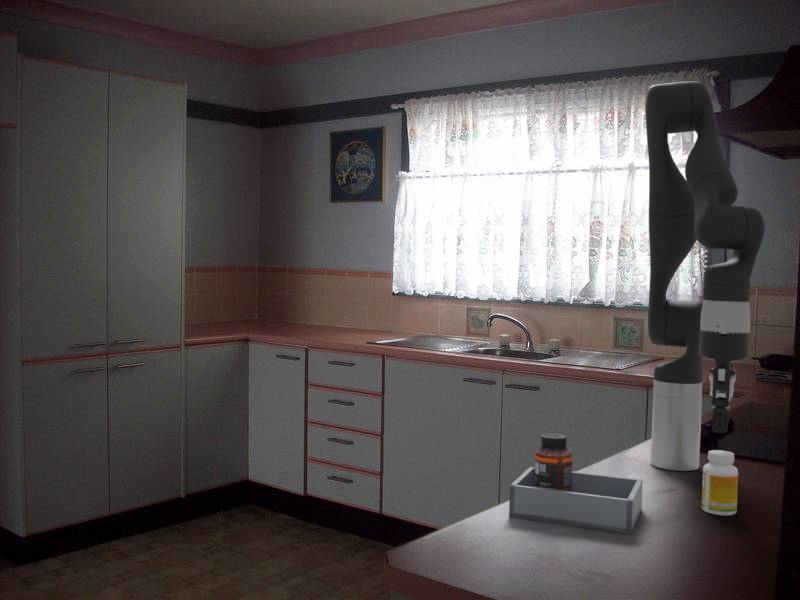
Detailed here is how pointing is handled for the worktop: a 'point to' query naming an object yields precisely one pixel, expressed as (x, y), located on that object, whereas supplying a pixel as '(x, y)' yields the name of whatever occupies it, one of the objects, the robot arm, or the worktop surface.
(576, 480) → the tote
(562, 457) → the supplement bottle
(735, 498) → the supplement bottle
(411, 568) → the worktop surface
